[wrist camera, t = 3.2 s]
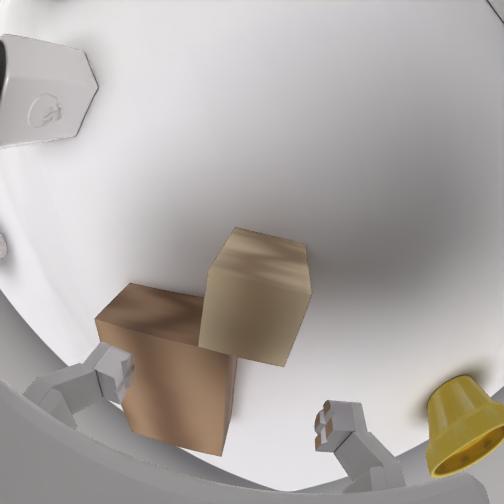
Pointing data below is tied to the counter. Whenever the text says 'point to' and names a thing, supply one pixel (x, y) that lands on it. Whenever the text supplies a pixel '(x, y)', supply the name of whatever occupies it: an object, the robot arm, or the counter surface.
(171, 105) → the counter surface
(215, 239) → the counter surface
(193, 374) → the walnut block
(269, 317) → the oak block
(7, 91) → the jar
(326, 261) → the counter surface
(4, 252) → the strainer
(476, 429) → the plant pot
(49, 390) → the robot arm
